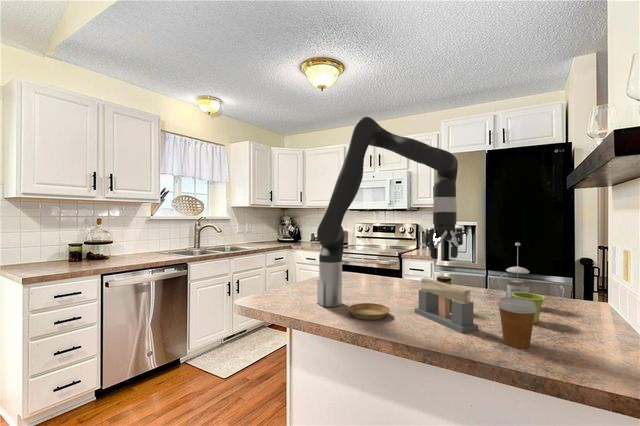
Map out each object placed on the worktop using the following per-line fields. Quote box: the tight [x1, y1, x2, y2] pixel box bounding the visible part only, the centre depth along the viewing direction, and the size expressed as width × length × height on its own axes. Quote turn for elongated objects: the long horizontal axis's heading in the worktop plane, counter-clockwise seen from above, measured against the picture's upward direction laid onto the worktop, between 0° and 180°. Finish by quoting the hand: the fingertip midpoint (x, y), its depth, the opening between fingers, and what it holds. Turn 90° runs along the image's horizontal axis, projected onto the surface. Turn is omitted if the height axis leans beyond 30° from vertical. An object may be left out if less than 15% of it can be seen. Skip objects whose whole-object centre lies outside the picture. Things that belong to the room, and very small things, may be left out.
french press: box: [497, 242, 530, 298], centre depth 130 cm, size 10×12×25 cm
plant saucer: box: [348, 302, 391, 321], centre depth 117 cm, size 15×15×3 cm
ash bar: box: [420, 277, 471, 304], centre depth 111 cm, size 2×20×4 cm, turn 22°
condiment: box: [436, 275, 453, 312], centre depth 125 cm, size 7×8×12 cm
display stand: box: [414, 289, 479, 334], centre depth 111 cm, size 7×22×8 cm, turn 23°
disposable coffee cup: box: [497, 296, 537, 349], centre depth 92 cm, size 10×10×12 cm
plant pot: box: [512, 291, 546, 324], centre depth 111 cm, size 9×9×9 cm
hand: (444, 258), depth 111 cm, fingers open, 8 cm apart
